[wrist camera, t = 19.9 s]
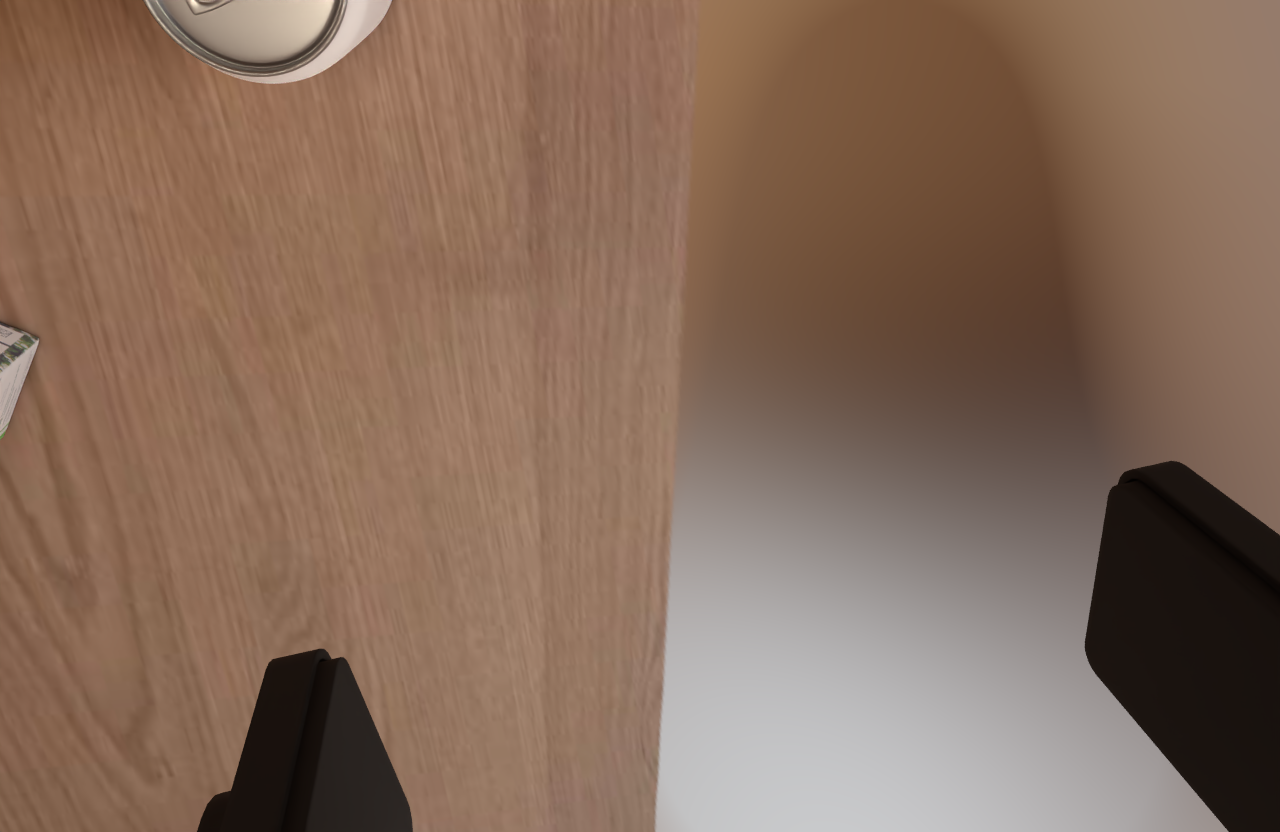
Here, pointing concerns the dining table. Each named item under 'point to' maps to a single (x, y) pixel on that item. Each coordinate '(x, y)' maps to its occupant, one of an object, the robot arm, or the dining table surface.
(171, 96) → the dining table surface
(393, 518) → the dining table surface
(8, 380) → the syrup box
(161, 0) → the can
